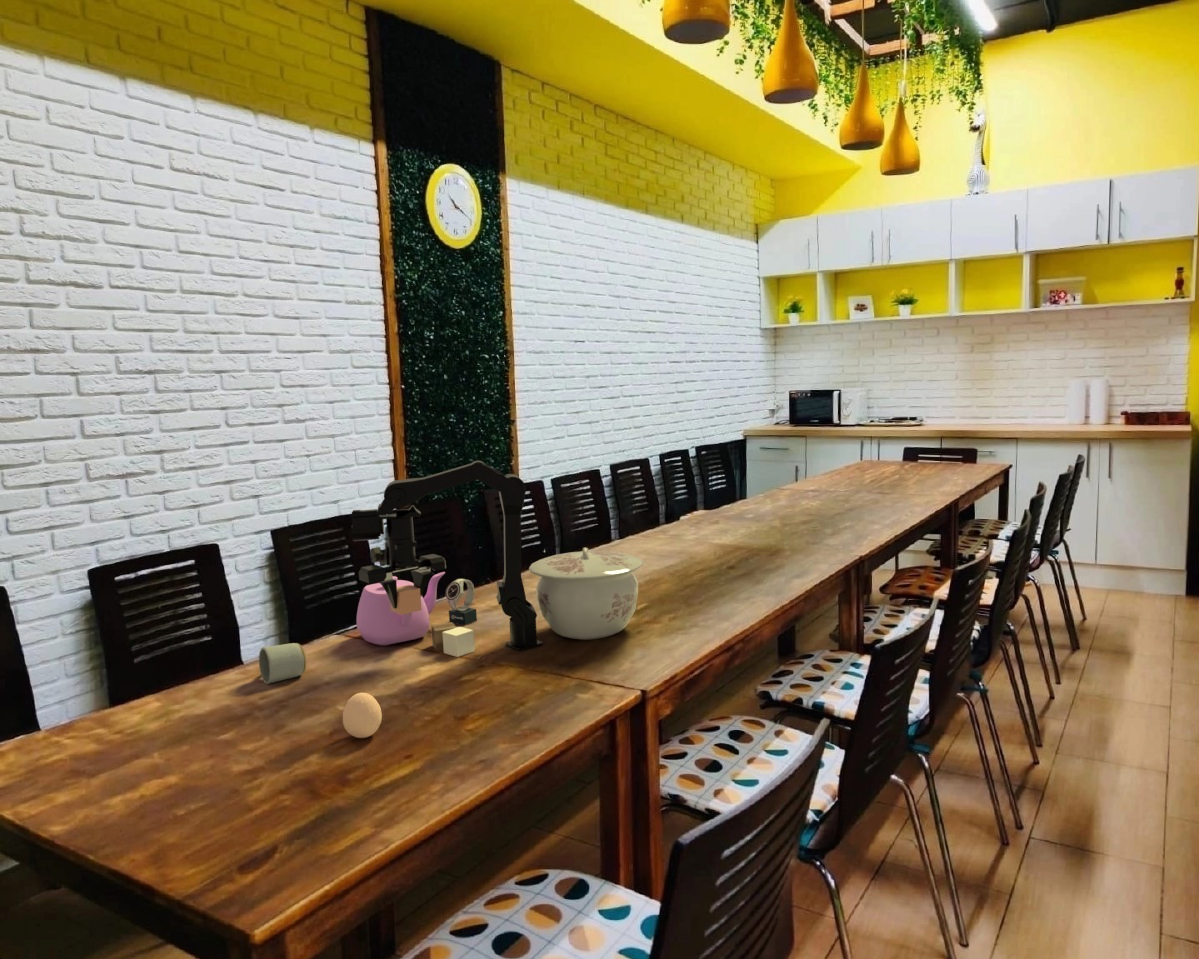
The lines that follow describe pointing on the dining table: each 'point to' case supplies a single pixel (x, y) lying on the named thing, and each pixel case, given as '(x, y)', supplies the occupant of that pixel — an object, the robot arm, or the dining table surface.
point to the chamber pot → (587, 592)
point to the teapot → (393, 615)
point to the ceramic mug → (281, 662)
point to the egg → (362, 715)
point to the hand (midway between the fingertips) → (406, 605)
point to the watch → (464, 613)
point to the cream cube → (458, 641)
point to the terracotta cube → (407, 600)
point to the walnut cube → (440, 634)
